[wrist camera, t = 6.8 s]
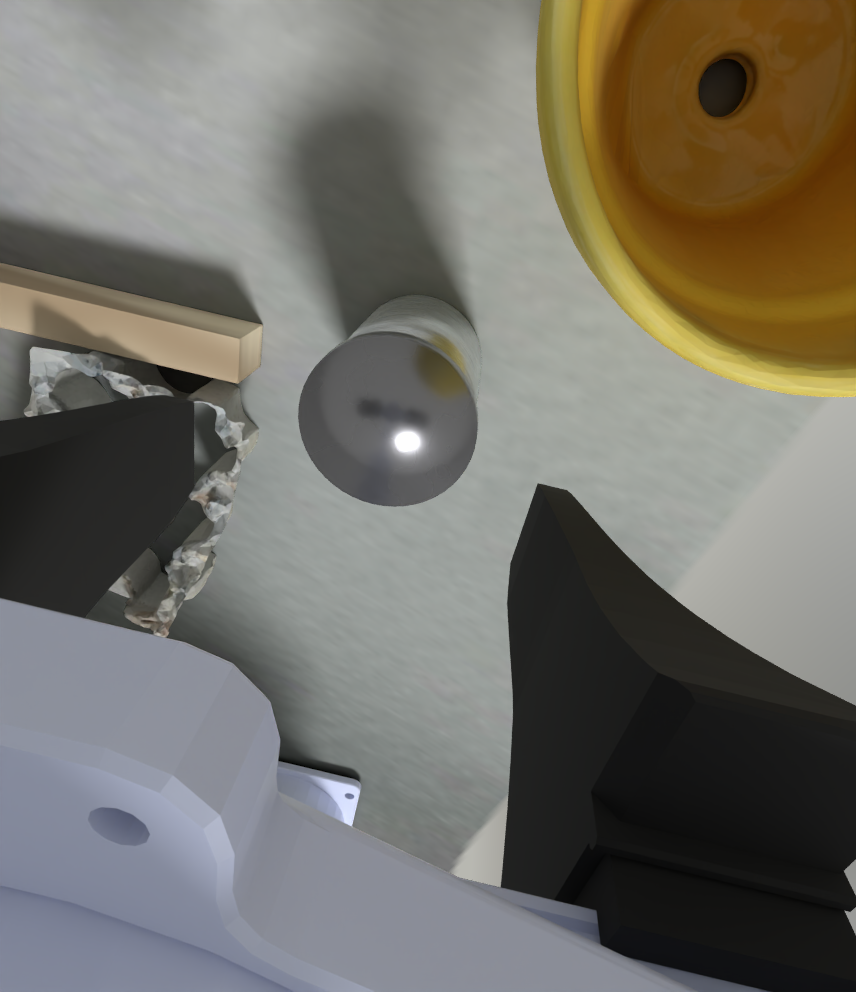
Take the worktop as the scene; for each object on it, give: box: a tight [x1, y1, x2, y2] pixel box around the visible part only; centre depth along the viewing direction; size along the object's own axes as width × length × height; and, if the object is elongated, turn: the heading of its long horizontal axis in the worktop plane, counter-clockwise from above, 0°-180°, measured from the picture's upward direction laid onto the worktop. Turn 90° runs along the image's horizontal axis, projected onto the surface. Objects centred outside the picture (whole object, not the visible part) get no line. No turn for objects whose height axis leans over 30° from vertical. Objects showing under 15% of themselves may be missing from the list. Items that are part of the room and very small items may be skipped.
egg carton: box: [24, 347, 259, 638], centre depth 22 cm, size 11×8×4 cm
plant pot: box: [536, 0, 856, 397], centre depth 11 cm, size 10×10×10 cm
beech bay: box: [0, 263, 263, 384], centre depth 24 cm, size 20×14×2 cm
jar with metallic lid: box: [298, 295, 482, 506], centre depth 17 cm, size 5×5×6 cm
